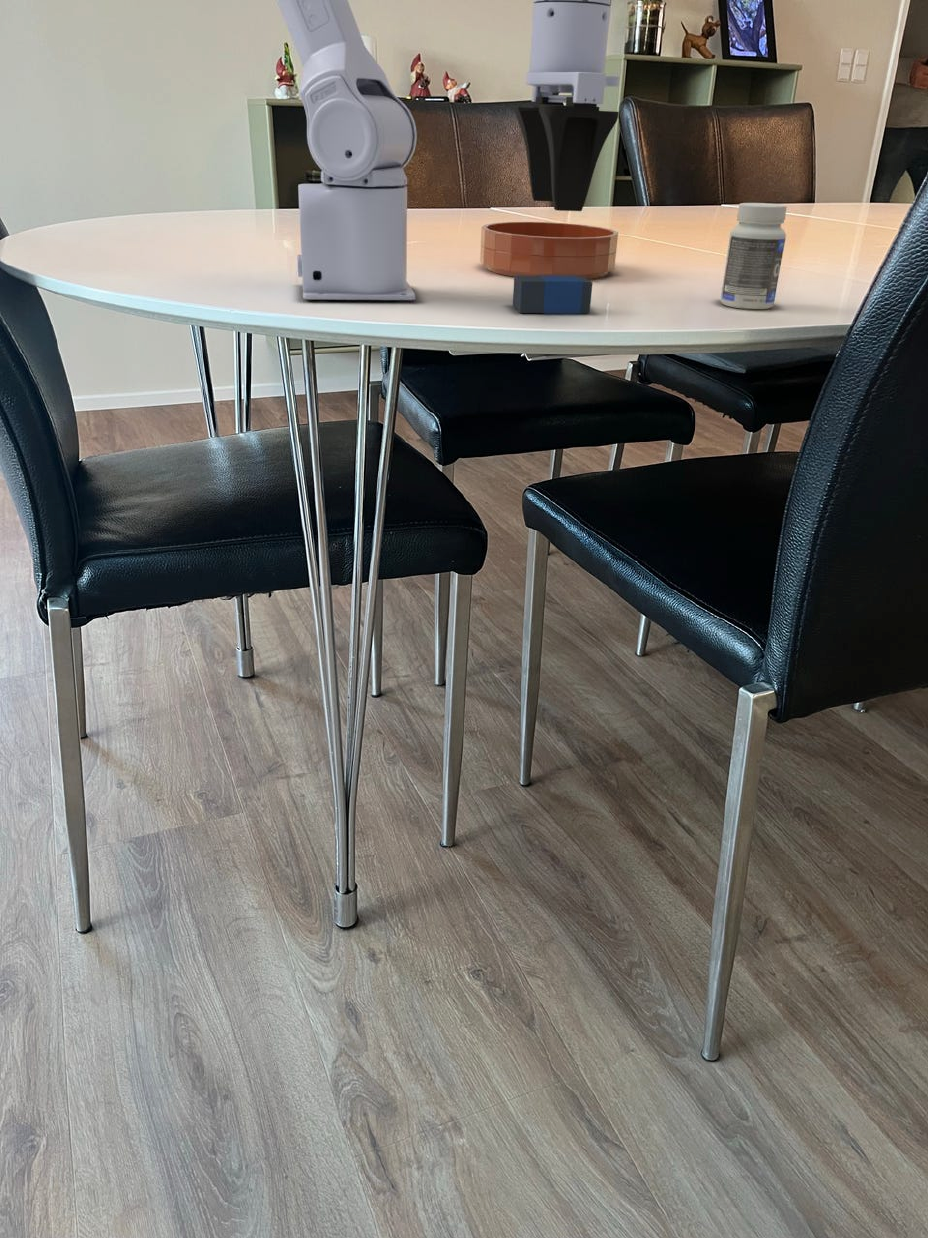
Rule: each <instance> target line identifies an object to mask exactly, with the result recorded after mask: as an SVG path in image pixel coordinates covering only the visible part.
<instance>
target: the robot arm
mask: <svg viewBox="0 0 928 1238" xmlns="http://www.w3.org/2000/svg"><path fill="white" fill-rule="evenodd" d="M276 2H277V5H278V8H279V10H280V13H281V16H282V18H283V20H284V23H285V26H286V28H287V31H288V33H289V35H290V38H291V40H292V43H293V45H294V48H295V50H296V53H297V55H298V58H299V60H300V63H301V65H302V68H303V70H302V75H301V80H300V85H299V89H298V95H299V97H300V100H301V103H302V105H303V107H304V111H305V116H306V140H307V145H308V148H309V152H310V155H311V158H312V159H313V161H314V163H315V164H316V165H317V166H318V167H319V169H320V170H321V173H320V181H321V182H322V183H300V184H298V186H297V189H298V210H299V211H298V212H299V233H300V234H299V235H300V236H299V237H300V254H297V255H296V258H297V259H296V260H297V261H296V263H297V277H299V278H301V281H302V298H303V300H316V301H317V300H319V301H321V300H322V301H323V300H326V301H327V300H330V301H332V300H333V301H334V300H335V301H339V300H340V301H414V300H416V294H415V292H414V291H413V289H412V287H411V285H410V284H409V282H408V280H407V278H408V277H407V276H408V275H407V271H408V270H407V269H408V265H407V264H408V261H407V260H408V255H407V254H408V239H407V238H408V186H407V185H408V177H407V175H406V173H405V171H404V168H405V167H406V166H408V164H409V162H410V161H411V159H412V157H413V156H414V154H415V150H416V146H417V141H418V140H417V139H418V133H417V125H416V121H415V119H414V116H413V115H412V112H411V111H410V109H409V108H408V107H407V105H406V104H405V103H404V102H403V101H402V100H401V99H400V98H398V97H397V95H396V94H395V92H394V91H393V89H392V88H391V86H390V83H389V80H388V78H387V74H386V73H385V71H384V70H383V69H382V67H381V65H380V64H379V63H378V62H377V60H376V59H375V58H374V56H373V55H372V54H371V52H370V51H369V49H368V48H367V47H366V45H365V43H364V40H363V37H362V35H361V32H360V30H359V27H358V24H357V21H356V19H355V16H354V13H353V10H352V8H351V5H350V3H349V0H276ZM532 3H533V4H532V17H531V36H530V37H531V38H530V53H529V69H528V72H526V74H525V84H526V85H527V86H531V102H533V104H532V107H530V106H529V107H528V106H527V107H526V106H514V109H513V111H514V114H515V118H516V120H517V123H518V125H519V128H520V130H521V134H522V138H523V142H524V146H525V147H524V148H525V151H526V160H527V167H528V176H529V186H530V192H531V197H532V201H534V202H552V206H553V209H554V211H558V212H582V211H583V209H584V205H585V203H586V200H587V197H588V193H589V190H590V186H591V184H592V180H593V176H594V172H595V168H596V166H597V163H598V159H599V158H600V155H601V152H602V149H603V148H604V145H605V143H606V141H607V139H608V137H609V135H610V133H611V131H613V128H614V126H615V125H616V123H617V122H618V119H619V114H620V112H619V111H612V110H600V106H598V105H603V104H604V98H605V97H604V95H605V88H606V87H607V88H608V87H610V88H616V87H617V88H618V87H619V84H620V77H619V76H612V75H606V73H605V71H606V61H607V59H606V58H607V49H608V38H609V27H610V19H611V8H612V7H611V6H612V0H533V2H532ZM565 94H566V95H565ZM564 104H565V105H564Z"/></svg>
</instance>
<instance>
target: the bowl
mask: <svg viewBox="0 0 928 1238" xmlns="http://www.w3.org/2000/svg"><path fill="white" fill-rule="evenodd" d="M480 230H481V231H480V233H481V234H480V253H479V254H480V255H479V262H480V263H481V264H482V265H483V266H486V270H488V271H489V272H492V273H495V274H498V275H502V276H507V277H513V278H514V276H538V275H573V276H583V277H585V278H586V279H588V280H594V279H600V278H603V277H606V276H607V275H608V273H609V272H612V271H614V270H615V267H616V259H617V250H618V249H617V248H618V238H619V231H617V230H614V229H612V228H611V229H610V228H607V227H602V226H596V225H587V224H578V223H569V222H568V223H567V222H566V223H565V222H552V221H551V222H550V221H549V222H548V221H503V222H493V223H487V224H483V226H481V229H480Z"/></svg>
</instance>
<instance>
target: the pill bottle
mask: <svg viewBox="0 0 928 1238" xmlns="http://www.w3.org/2000/svg"><path fill="white" fill-rule="evenodd" d="M786 213H787V205H786V204H779V203H770V202H769V203H767V202H766V203H765V202H742V203H741V202H740V203H739V205H738V209H737V215H736V218H737V219H736V221H737V222H738V225H736V226H734V227H733V228H732V229H731V230H730V234H729V240H728V247H727V254H726V261H725V267H724V274H723V281H722V287H721V292H720V302H721V304H722V305H724V306H726V307H730V308H736V309H745V310H746V309H747V310H767V309H771V308H772V307H773V306H774V304H775V299H776V295H777V289H778V288H777V287H778V283H779V276H780V272H781V265H782V260H783V255H784V249H785V243H786V237H787V234H786V231H785V230H784V229H783V228H782V224H784V223H785V220H786Z"/></svg>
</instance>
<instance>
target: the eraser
mask: <svg viewBox="0 0 928 1238" xmlns="http://www.w3.org/2000/svg"><path fill="white" fill-rule="evenodd" d="M592 292H593V281H592V280H591V279H586V278H585V277H583V276H573V275H538V276H514V277H513V293H512V294H513V295H512V307H513V308H514V309H515V310H516V311H517V312H518V313H520V314H544V315H580V314H591V305H592V295H593V294H592Z"/></svg>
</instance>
